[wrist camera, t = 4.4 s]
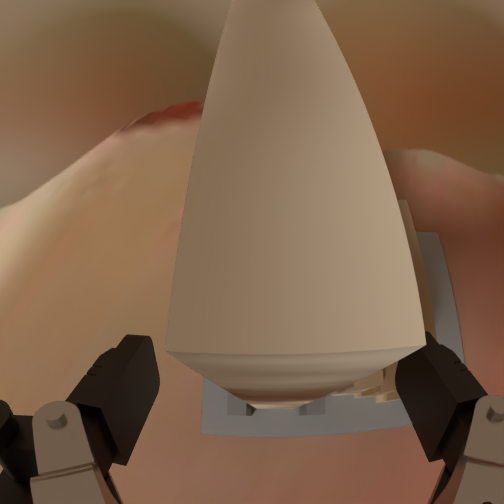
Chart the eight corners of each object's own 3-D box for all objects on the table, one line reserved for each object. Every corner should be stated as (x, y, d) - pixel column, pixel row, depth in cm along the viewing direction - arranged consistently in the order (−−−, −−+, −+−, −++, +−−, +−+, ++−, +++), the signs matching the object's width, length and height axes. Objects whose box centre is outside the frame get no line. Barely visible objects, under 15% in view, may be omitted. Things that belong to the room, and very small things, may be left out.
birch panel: (290, 253, 26) (303, -18, 8) (293, 408, 20) (426, 345, 3) (259, 253, 26) (236, -17, 9) (257, 409, 20) (165, 351, 3)
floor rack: (431, 240, 27) (460, 198, 22) (459, 413, 20) (506, 404, 14) (217, 241, 29) (203, 195, 23) (205, 433, 21) (182, 437, 15)
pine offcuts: (379, 252, 25) (406, 199, 19) (396, 400, 20) (442, 389, 14) (323, 252, 26) (336, 197, 20) (331, 407, 20) (356, 401, 14)
